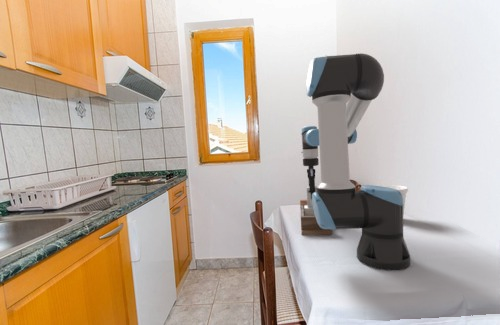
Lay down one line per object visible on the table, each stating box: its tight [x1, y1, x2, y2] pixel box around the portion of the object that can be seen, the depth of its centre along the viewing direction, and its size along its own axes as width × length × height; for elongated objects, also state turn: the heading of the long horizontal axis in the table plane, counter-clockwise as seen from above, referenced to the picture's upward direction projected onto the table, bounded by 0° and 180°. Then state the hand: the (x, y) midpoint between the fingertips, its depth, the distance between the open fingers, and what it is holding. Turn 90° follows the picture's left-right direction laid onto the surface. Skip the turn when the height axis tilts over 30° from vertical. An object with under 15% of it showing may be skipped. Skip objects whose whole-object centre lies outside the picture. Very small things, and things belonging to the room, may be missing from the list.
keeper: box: [304, 185, 318, 216], centre depth 128 cm, size 6×8×14 cm
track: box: [299, 199, 332, 236], centre depth 122 cm, size 36×12×7 cm, turn 169°
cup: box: [380, 184, 409, 216], centre depth 118 cm, size 12×12×15 cm
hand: (312, 204), depth 128 cm, fingers closed on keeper, 4 cm apart
